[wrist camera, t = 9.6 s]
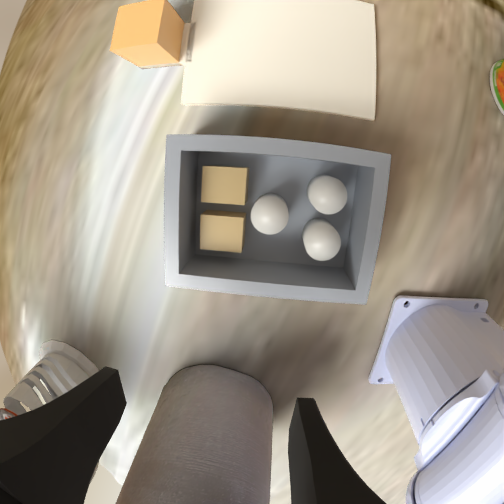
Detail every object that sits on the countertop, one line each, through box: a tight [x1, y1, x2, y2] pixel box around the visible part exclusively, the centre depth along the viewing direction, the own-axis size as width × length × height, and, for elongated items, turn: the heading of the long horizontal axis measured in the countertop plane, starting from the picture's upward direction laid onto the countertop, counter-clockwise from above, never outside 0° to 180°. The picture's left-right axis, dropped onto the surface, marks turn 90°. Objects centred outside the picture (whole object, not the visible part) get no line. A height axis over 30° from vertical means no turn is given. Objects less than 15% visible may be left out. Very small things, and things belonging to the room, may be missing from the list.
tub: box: [164, 134, 391, 305], centre depth 16 cm, size 11×8×4 cm
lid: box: [110, 0, 376, 121], centre depth 13 cm, size 15×9×4 cm, turn 86°
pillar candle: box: [116, 365, 273, 504], centre depth 17 cm, size 10×10×15 cm
